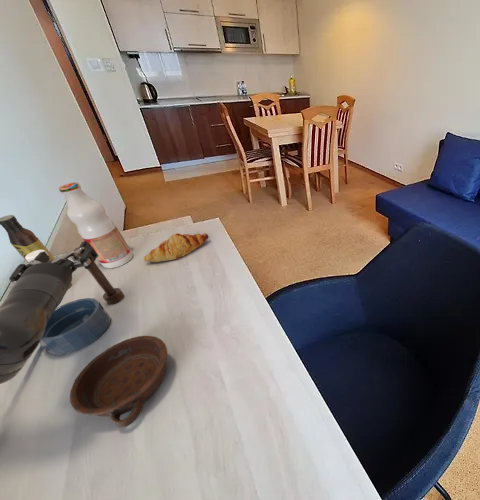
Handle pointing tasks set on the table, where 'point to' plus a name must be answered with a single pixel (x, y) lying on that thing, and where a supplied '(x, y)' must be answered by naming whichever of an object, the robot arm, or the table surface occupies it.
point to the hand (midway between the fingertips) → (66, 249)
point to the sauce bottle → (22, 237)
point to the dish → (120, 379)
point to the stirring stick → (105, 284)
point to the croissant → (176, 247)
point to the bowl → (75, 326)
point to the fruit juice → (96, 227)
